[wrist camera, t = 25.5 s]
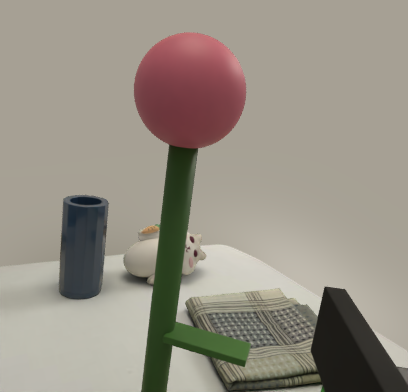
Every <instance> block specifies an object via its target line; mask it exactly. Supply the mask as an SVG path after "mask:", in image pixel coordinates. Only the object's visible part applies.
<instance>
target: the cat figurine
mask: <svg viewBox="0 0 408 392" xmlns="http://www.w3.org/2000/svg"><path fill="white" fill-rule="evenodd" d="M158 230H160V225H158V224H157V225H155V226H149V227H147V228H145V229H142V230H140V231H139V233H138V234H139V237H138V238H139V240H140V241H138V242H137V243H135V244H133V245H132V246H131V247H130V248H129V249H128V250H127V251H126V253H125V255H124V266H125V268H126V269H127V271H128V272H130V273H131V274H133V275H135V276H138V277H148V280H147V282H148V284H154V276H155V267H156V258H157V249H158V240H159V231H158ZM201 240H202V237H201V235H200V234H196V235H192V234H190V233H189V232H188V231H187V238H186V245H185V253H184V260H183V268H182V274H184V275H188V274H190V273H192V272H193V271H194V269H195V267H196V264H197V262H198V261H199V260H204V259H205V258H206V254H205V253H204V252H203V251H202V250H201V249H200V242H201Z"/></svg>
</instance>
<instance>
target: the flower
mask: <svg viewBox="0 0 408 392" xmlns="http://www.w3.org/2000/svg"><path fill="white" fill-rule="evenodd" d="M134 97H135V103H136V107H137V110H138V113H139V115H140V117H141V119H142V121H143V123H144V124H145V125H146V127H147V128H148V129H149V130H150V131H151V133H152V134H154V135H155V136H156V137H157V138H159V139H160V140H162V141H163V142H165V143H168V144H169V153H168V161H167V170H166V178H165V187H164V196H163V205H162V214H161V223H160V231H159V240H158V249H157V258H156V267H155V276H154V284H153V293H152V302H151V311H150V320H149V329H148V337H147V346H146V355H145V364H144V373H143V382H142V390H141V392H166V391H167V383H168V375H169V368H170V360H171V352H172V345H173V346H176V347H179V348H183V349H186V350H189V351H193V352H196V353H199V354H202V355H206V356H209V357H212V358H215V359H219V360H222V361H225V362H229V363H232V364H235V365H238V366H242V367H245V365H246V362H247V358H248V355H249V352H250V347H251V343H248V342H244V341H241V340H237V339H234V338H230V337H227V336H224V335H220V334H217V333H213V332H210V331H206V330H203V329H199V328H196V327H192V326H189V325H185V324H182V323H178V322H176V314H177V306H178V299H179V291H180V283H181V276H182V268H183V260H184V253H185V245H186V238H187V230H188V222H189V215H190V207H191V199H192V191H193V184H194V176H195V168H196V161H197V153H198V148H202V147H206V146H209V145H212V144H214V143H216V142H218V141H219V140H221V139H222V138H224V137H225V136H226V135H227V134H228V133H229V132H230V131H231V130H232V129H233V128H234V126H235V125H236V124H237V122H238V120H239V118H240V116H241V114H242V111H243V108H244V105H245V100H246V83H245V77H244V74H243V71H242V68H241V66H240V64H239V62H238V60H237V59H236V57H235V56H234V54H233V53H232V52H231V51H230V50H229V49H228V48H227V47H226V46H225V45H224V44H222V43H221V42H219V41H218V40H216V39H214V38H212V37H210V36H207V35H204V34H199V33H180V34H175V35H172V36H169V37H167V38H165V39H163V40H161V41H160V42H159V43H157V44H155V45H154V46H153V47H152V48H151V49H150V50H149V51H148V52H147V54H146V55H145V57H144V58H143V59H142V61H141V63H140V65H139V67H138V70H137V73H136V77H135V83H134Z"/></svg>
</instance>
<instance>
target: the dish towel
mask: <svg viewBox="0 0 408 392" xmlns="http://www.w3.org/2000/svg"><path fill="white" fill-rule="evenodd" d="M185 304H186V307H187V309H188V311H189V313H190V315H191V317H192V319H193V321H194V324H195V326H196V328H199V329H203V330H206V331H210V332H213V333H217V334H220V335H224V336H227V337H230V338H234V339H237V340H241V341H244V342H248V343H251V347H250V352H249V355H248V358H247V362H246V365H245V367H242V366H238V365H235V364H232V363H229V362H225V361H222V360H219V359H215V358H212V357H211V359H212V361H213V363H214V365H215V367H216V369H217V372H218V374H219V375H220V377H221V378H222V380H223V382H224V384H225V386H226V387H227V389H228V390H229V391H230V390H243V389H247V390H250V389H266V388H275V387H286V386H294V385H301V384H307V383H317V382H321V379H320V376H319V373H318V371H317V368H316V365H315V362H314V359H313V356H312V354H311V351H310V350H311V346H312V341H313V337H314V332H315V328H316V323H317V319H318V317H317V316H316V315H315V313H314V312H313V311H312V310H311V309H310V307H309V306H308V305H300V304H299V303H298V302H297V301H296V299H294V298H290V299H287V298H286V297H285V296H284V294H283V293H282V291H281V290H280V289H279V288H278V289H271V290H263V291H252V292H243V293H232V294H222V295H214V296H205V297H191V298H190V299H188V300H187V301H186V302H185Z"/></svg>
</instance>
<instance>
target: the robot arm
mask: <svg viewBox="0 0 408 392" xmlns="http://www.w3.org/2000/svg"><path fill="white" fill-rule="evenodd" d="M310 351H311V354H312V356H313V359H314V362H315V365H316V368H317V371H318V373H319V376H320V379H321V382H322V385H323V388H324V390H325V392H408V368H402V367H396V365H395V364H394V362H393V361H392V359H391V358H390V356H389V355H388V353H387V352H386V350H385V349H384V347H383V346H382V344H381V343H380V341H379V340H378V338H377V337H376V335H375V334H374V332H373V331H372V329H371V328H370V326H369V325H368V323H367V322H366V320H365V319H364V317H363V316H362V314H361V313H360V311H359V310H358V308H357V307H356V305H355V304H354V302H353V301H352V299H351V298H350V296H349V295H348V293H347V292H346V290H345V289H339V288H331V287H325V288H324V292H323V297H322V301H321V306H320V310H319V314H318V319H317V323H316V328H315V332H314V337H313V341H312V346H311V350H310Z"/></svg>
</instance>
